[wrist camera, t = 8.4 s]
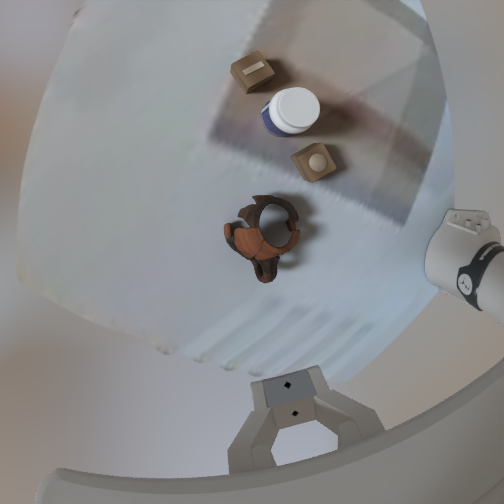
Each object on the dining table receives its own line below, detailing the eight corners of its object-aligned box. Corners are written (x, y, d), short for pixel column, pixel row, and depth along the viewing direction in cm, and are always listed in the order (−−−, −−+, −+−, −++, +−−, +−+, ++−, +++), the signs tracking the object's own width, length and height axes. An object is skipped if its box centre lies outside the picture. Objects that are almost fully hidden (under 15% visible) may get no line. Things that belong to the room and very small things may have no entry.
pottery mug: (213, 206, 40) (239, 195, 33) (267, 197, 44) (300, 187, 37) (231, 287, 41) (260, 293, 34) (282, 270, 46) (316, 272, 39)
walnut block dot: (313, 143, 38) (323, 142, 34) (326, 166, 39) (337, 168, 35) (290, 156, 38) (298, 156, 34) (303, 179, 40) (313, 183, 36)
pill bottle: (296, 141, 37) (319, 137, 28) (256, 132, 36) (268, 125, 27) (303, 104, 36) (328, 90, 26) (264, 95, 35) (278, 76, 25)
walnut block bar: (254, 59, 33) (258, 49, 29) (269, 80, 34) (275, 73, 30) (230, 72, 33) (231, 63, 29) (245, 93, 34) (248, 87, 30)
